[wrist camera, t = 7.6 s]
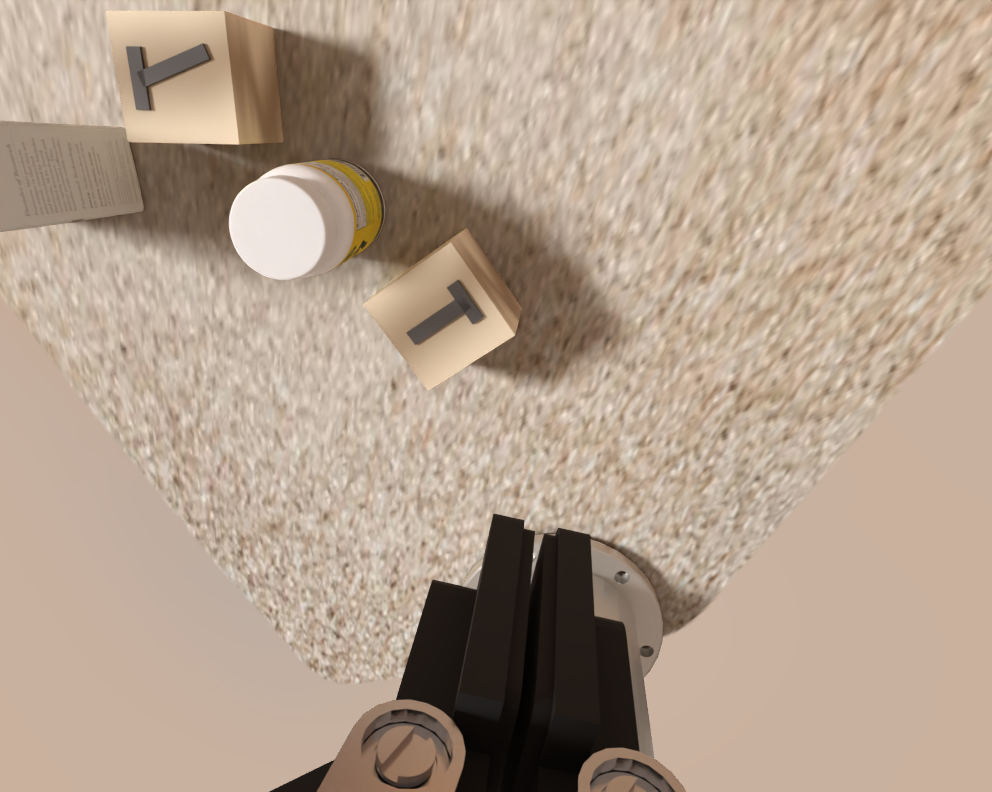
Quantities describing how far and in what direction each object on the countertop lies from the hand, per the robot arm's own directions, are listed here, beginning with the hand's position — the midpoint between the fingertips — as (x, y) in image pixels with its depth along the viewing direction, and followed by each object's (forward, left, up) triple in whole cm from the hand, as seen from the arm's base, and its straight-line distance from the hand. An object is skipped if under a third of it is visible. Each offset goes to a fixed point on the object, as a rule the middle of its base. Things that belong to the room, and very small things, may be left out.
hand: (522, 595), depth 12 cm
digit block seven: (+14, +12, -25) cm, 31 cm away
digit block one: (+1, +5, -25) cm, 26 cm away
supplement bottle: (+7, +9, -25) cm, 28 cm away
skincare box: (+13, +21, -25) cm, 35 cm away
